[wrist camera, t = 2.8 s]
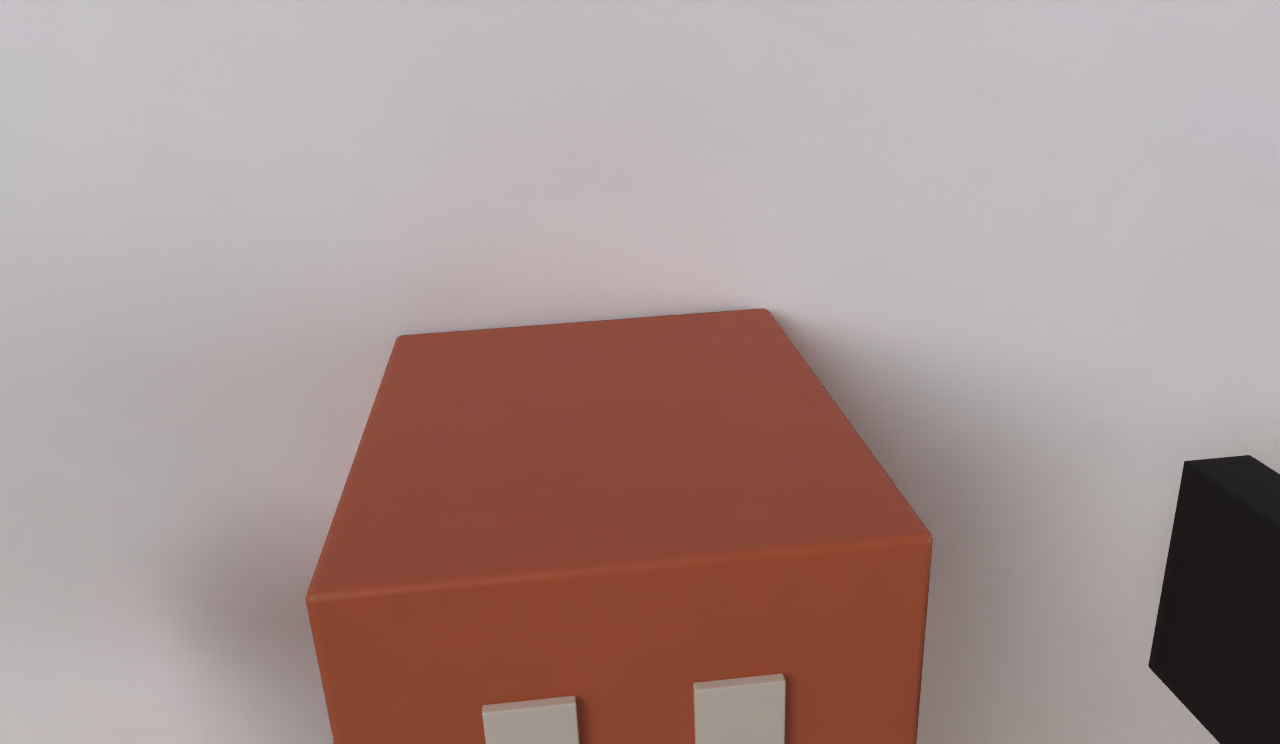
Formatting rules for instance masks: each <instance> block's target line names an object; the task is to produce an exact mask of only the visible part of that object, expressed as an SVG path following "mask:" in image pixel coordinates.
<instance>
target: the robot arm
mask: <svg viewBox="0 0 1280 744" xmlns="http://www.w3.org/2000/svg"><path fill="white" fill-rule="evenodd" d="M1149 668H1150V669H1151V670H1152V671H1153V672H1154V673H1155V674H1156V675H1157V676H1158V677H1159V678H1160V679H1161V680H1162V682H1163V683H1164V684H1165V685H1166V686H1167V687H1168V688H1169V689H1170V690H1171V691H1172V692H1173V693H1174V694H1175V696H1176V697H1177V698H1178V699H1179V700H1180V701H1181V702H1182V703H1183V704H1184V705H1185V706H1186V707H1187V708H1188V710H1189V711H1190V712H1191V713H1192V714H1193V715H1194V716H1195V717H1196V718H1197V719H1198V720H1199V721H1200V722H1201V724H1202V725H1203V726H1204V727H1205V728H1206V729H1207V730H1208V731H1209V732H1210V733H1211V734H1212V735H1213V736H1214V738H1215V739H1216V740H1217V741H1218V742H1219V743H1220V744H1280V474H1278V473H1277V472H1275V471H1274V470H1272V469H1270V468H1269V467H1267V466H1266V465H1264V464H1263V463H1261V462H1259V461H1258V460H1256V459H1255V458H1253V457H1252V456H1250V455H1246V456H1235V457H1224V458H1214V459H1203V460H1193V461H1184V467H1183V473H1182V478H1181V484H1180V490H1179V495H1178V501H1177V507H1176V513H1175V518H1174V524H1173V530H1172V535H1171V541H1170V547H1169V552H1168V558H1167V564H1166V569H1165V575H1164V581H1163V586H1162V592H1161V598H1160V604H1159V609H1158V615H1157V621H1156V626H1155V632H1154V638H1153V643H1152V649H1151V655H1150V660H1149Z"/></svg>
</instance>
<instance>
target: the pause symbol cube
mask: <svg viewBox="0 0 1280 744" xmlns="http://www.w3.org/2000/svg"><path fill="white" fill-rule="evenodd" d="M931 553H932V537H931V534H930V532H929V531H928V529H927V528H926V527H925V525H924V524H923V523H922V521H921V520H920V518H919V517H918V516H917V514H916V513H915V512H914V510H913V509H912V507H911V506H910V505H909V503H908V502H907V501H906V499H905V498H904V496H903V495H902V494H901V492H900V491H899V490H898V488H897V487H896V485H895V484H894V483H893V481H892V480H891V479H890V477H889V476H888V474H887V473H886V472H885V470H884V469H883V468H882V466H881V465H880V463H879V462H878V461H877V459H876V458H875V457H874V455H873V454H872V452H871V451H870V450H869V448H868V447H867V446H866V444H865V443H864V441H863V440H862V439H861V437H860V436H859V435H858V433H857V432H856V430H855V429H854V428H853V426H852V425H851V424H850V422H849V421H848V419H847V418H846V417H845V415H844V414H843V413H842V411H841V410H840V408H839V407H838V406H837V404H836V403H835V402H834V400H833V399H832V397H831V396H830V395H829V393H828V392H827V391H826V389H825V388H824V386H823V385H822V384H821V382H820V381H819V380H818V378H817V377H816V375H815V374H814V373H813V371H812V370H811V369H810V367H809V366H808V364H807V363H806V362H805V360H804V359H803V358H802V356H801V355H800V353H799V352H798V351H797V349H796V348H795V347H794V345H793V344H792V342H791V341H790V340H789V338H788V337H787V336H786V334H785V333H784V332H783V330H782V329H781V327H780V326H779V325H778V323H777V322H776V321H775V319H774V318H773V316H772V315H771V314H770V312H769V311H768V310H766V309H751V310H737V311H724V312H711V313H697V314H684V315H670V316H657V317H644V318H630V319H617V320H603V321H590V322H577V323H563V324H550V325H536V326H523V327H510V328H496V329H483V330H469V331H456V332H443V333H429V334H416V335H402V336H400V337H398V338H396V341H395V344H394V347H393V350H392V353H391V356H390V358H389V361H388V364H387V367H386V370H385V373H384V376H383V378H382V381H381V384H380V387H379V390H378V393H377V395H376V398H375V401H374V404H373V407H372V410H371V413H370V415H369V418H368V421H367V424H366V427H365V430H364V433H363V435H362V438H361V441H360V444H359V447H358V450H357V452H356V455H355V458H354V461H353V464H352V467H351V470H350V472H349V475H348V478H347V481H346V484H345V487H344V490H343V492H342V495H341V498H340V501H339V504H338V507H337V509H336V512H335V515H334V518H333V521H332V524H331V527H330V529H329V532H328V535H327V538H326V541H325V544H324V547H323V549H322V552H321V555H320V558H319V561H318V564H317V566H316V569H315V572H314V575H313V578H312V581H311V584H310V586H309V589H308V592H307V596H306V599H305V600H306V605H307V610H308V615H309V620H310V625H311V630H312V635H313V640H314V645H315V650H316V655H317V660H318V665H319V670H320V675H321V680H322V685H323V690H324V695H325V700H326V705H327V710H328V715H329V720H330V725H331V730H332V735H333V740H334V744H916V740H917V727H918V715H919V702H920V690H921V677H922V665H923V653H924V640H925V628H926V615H927V603H928V590H929V578H930V565H931Z"/></svg>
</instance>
